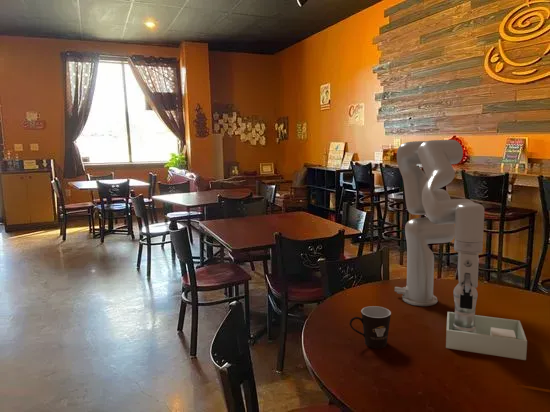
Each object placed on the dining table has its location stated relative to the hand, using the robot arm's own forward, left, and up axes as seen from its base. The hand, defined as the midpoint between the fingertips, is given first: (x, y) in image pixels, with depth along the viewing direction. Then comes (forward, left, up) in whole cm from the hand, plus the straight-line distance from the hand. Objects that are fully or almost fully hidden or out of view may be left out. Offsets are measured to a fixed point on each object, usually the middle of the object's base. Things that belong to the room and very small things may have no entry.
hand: (465, 301), depth 123 cm
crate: (+5, 0, -12) cm, 13 cm away
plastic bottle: (0, 0, -12) cm, 12 cm away
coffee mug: (-26, -10, -13) cm, 31 cm away
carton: (+10, 0, -12) cm, 16 cm away
